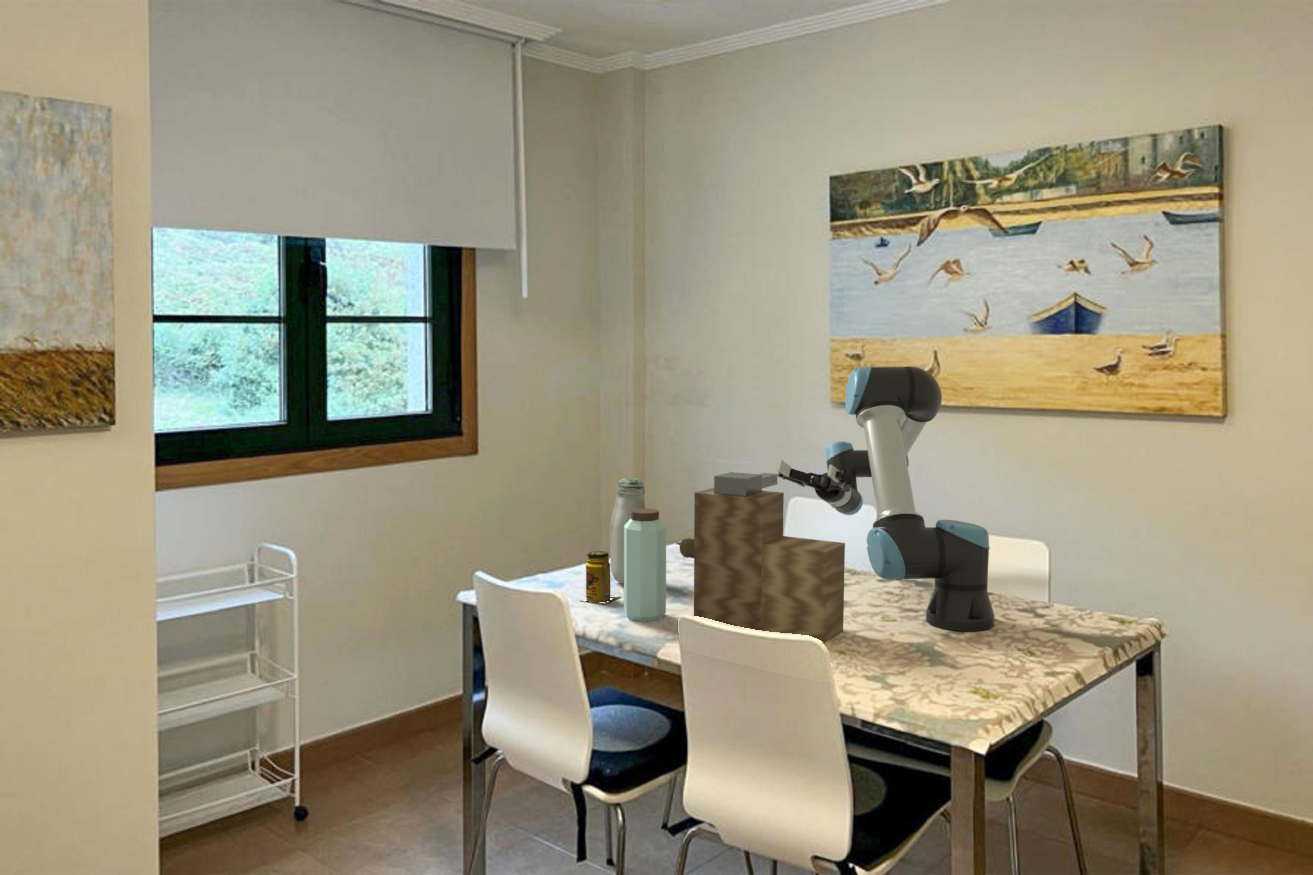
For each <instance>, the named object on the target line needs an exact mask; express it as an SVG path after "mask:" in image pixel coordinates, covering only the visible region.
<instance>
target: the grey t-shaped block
mask: <svg viewBox="0 0 1313 875" xmlns="http://www.w3.org/2000/svg"><path fill="white" fill-rule="evenodd" d="M713 477H714V478H713V485H714V486H713V488H714V494H722V495H732V496H743V497H747V496H750V495H754V494H757V493H761V492H762V491H763V489H765V488H769V487H772V486H773V487H774V486H776V485H778V473H772V472H771V473H769V472H768V473H767V472H763V473H759V474H758V473H757V474H756V473H747V472H746V473H745V472H732V471H729V472H726V473H723V474H718V475H714V476H713Z"/></svg>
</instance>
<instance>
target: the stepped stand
mask: <svg viewBox="0 0 1313 875" xmlns="http://www.w3.org/2000/svg"><path fill="white" fill-rule="evenodd" d="M784 494H785V493H784V492H781V491H770V490H762V492H761V493H757V494H754V495H750V496H747V497H743V496H732V495H722V494H714V487H712V488H707V489H702V490H699V491H696V492H694V502H693V503H694V510H693V511H694V513H693V514H694V516H693V517H694V519H693V520H694V521H693V522H694V523H693V524H694V525H693V526H694V528H693V531H694V533H693V536H694V537H693V539H694V557H693V617H694V616H699V617H704V618H708V619H712V620H715V621H719V622H723V623H726V624H730V625H734V626H740V627H744V628H750V629H755V630H762V631H769V632H780V633H792V634H801V635H809V636H812V637H814V638H817V639H819V640H821V641H822V642H824V644H826V643H827V642H829V641H831V640H832V639H833V638H835V637H837V636H838V635H840V634H842V633H843V632H844V612H845V610H844V608H845V607H844V606H845V604H844V602H845V567H846V566H845V558H846V556H845V554H846V553H845V551H846V543H845V542H839V541H830V540H829V541H828V540H823V539H822V540H821V539H813V538H812V539H811V538H804V537H797V536H795V537H793V536H786V535H784V503H785V502H784V500H785V499H784V496H785V495H784Z"/></svg>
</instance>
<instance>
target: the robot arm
mask: <svg viewBox="0 0 1313 875" xmlns="http://www.w3.org/2000/svg"><path fill="white" fill-rule="evenodd" d="M847 380H848V381H847V385H846V390H845V410H846V412H847V414H848V415H851V416H854V415H855V419H856V420H855V421H856V424H857V425H858V426H860V427H861V428H863V431H864V435H865V436H864V437H865V444H866V449H859V450H858V449H854V446H853V444H852V443H851V442H848V441H835V442H832V443H830V444H828V446H826V448H825V458H826V459H825V460H826V461H825V462H826V468H827V472H824V473H822V474H817V473H814V472H805V471H801V470H798V469H795V468H792V466H790V464H788V463H786V462H785V461H784V460H783V459H778V463H777V467H776V471H777V472H778V473H777V474H778V475H777V478H781V479H782V480H787V481H789V482H792V483H794V484H797V485H799V486H800V487H803V488H804V487H810V488H812V489H814V492H815V493H816V495H817V497H819V498H820V499H821V500H823V501H824V502H825V503H827V504H828V505H829V506H831V508H832V509H835V510H836V511H837V512H838V513H841V514H843V515H845V516H853V515H855V514H857V513H858V512H859V511H861V509H862V507H863V504H864V500H863V496H862V495H861V493H860V492H859V490H858V482H857V478H871V481H872V486H873V494H874V501H875V505H876V513H877V518H875V521H873V523H872V528H871V529H870V530H869V531H868V532H867V535H866V536H867V537H866V545H867V547H866V550H867V555H868V560H869V563H870V566H871V568H872V569H873V571H874V573H875V574H876V576H878V577H879V578H881V579H884V580H895V581H902V580H926V579H927V580H929V579H930V580H932V579H934V589H933V591H932V593H931V596H930V599H929V603H928V605H927V607H926V610H925V611H926V612H925V622H927V623H928V624H930V625H931V626H934V627H936V628H941V629H946V630H950V631H951V630H952V631H960V632H961V631H962V632H976V631H977V632H978V631H986V630H989V629H992V628H993V627H994V626H995V613H994V610H993V606H992V603H991V599H990V596H989V593H988V578H989V576H988V575H989V559H990V558H989V557H990V556H989V554H990V547H991V546H990V542H989V541H990V540H989V539H990V537H989V532H988V530H987V529H986V528H985V527H983V526H981V525H978V524H975V523H970V522H965V521H961V520H960V521H959V520H955V519H954V520H953V519H938V520H937V521H936V523H935V527H934V526H933V527H931V526H930V527H928V526H926V523H925V519H924V516H923V515H921V514H920V513H918V512H917V511H916V508H915V501H914V495H913V490H912V484H911V478H910V472H909V455H908V454H909V452H910V450H911V449H912V447H913V445H914V444H915V442H916V441H917V439H918V438H919V436H920V434H921V432H922V431H923V429H924V427H925V426H926V424H927V423H928V422H931V421H933V420H934V418H935V417H936V416H937V415H938V412H939V411H940V409H941V406H942V402H943V397H942V390H941V387H940V384H939V382H938V381H937V380H936V378H935V377H934V376H933V375H932V374H931V373H929V372H928V371H926V370H925V369H923V368H922V367H921V368H920V367H917V366H909V365H908V366H872V365H868V366H860V367H859V366H857V367H855V368H854V369H853V370H852V371H851V372H850V373H849V376H848V379H847Z"/></svg>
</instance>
